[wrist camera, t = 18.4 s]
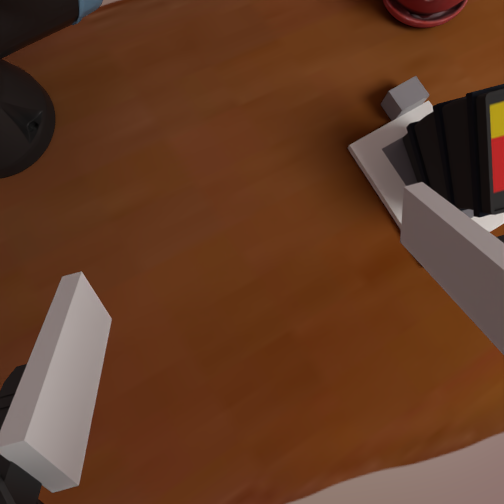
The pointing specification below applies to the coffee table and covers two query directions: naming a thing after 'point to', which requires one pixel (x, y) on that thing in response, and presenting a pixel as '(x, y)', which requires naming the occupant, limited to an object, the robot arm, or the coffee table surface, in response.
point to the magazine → (462, 151)
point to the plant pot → (424, 11)
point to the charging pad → (399, 151)
